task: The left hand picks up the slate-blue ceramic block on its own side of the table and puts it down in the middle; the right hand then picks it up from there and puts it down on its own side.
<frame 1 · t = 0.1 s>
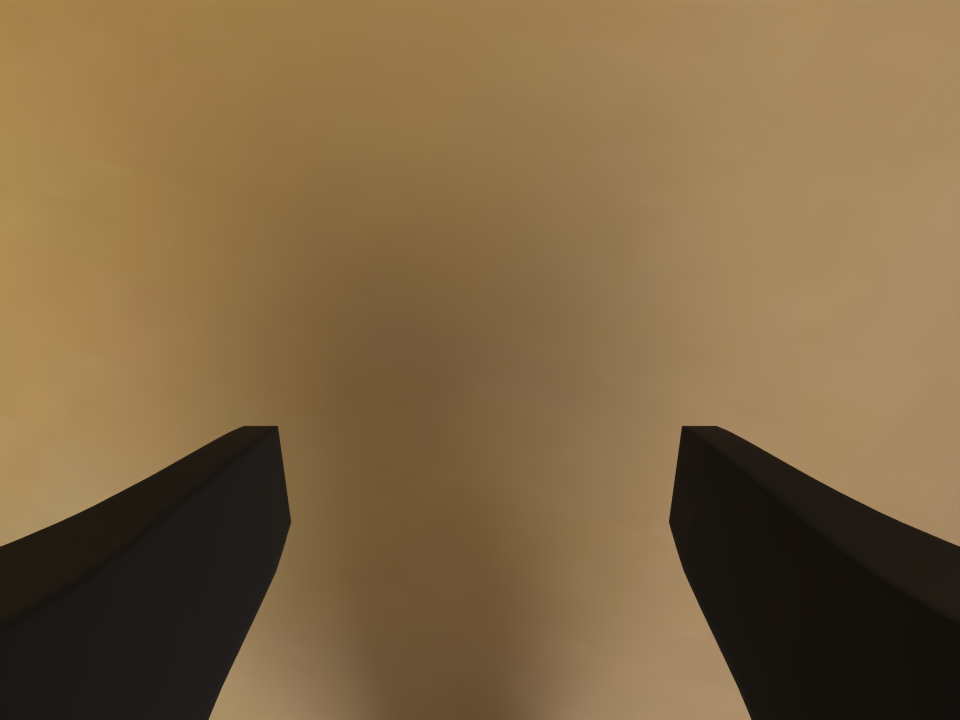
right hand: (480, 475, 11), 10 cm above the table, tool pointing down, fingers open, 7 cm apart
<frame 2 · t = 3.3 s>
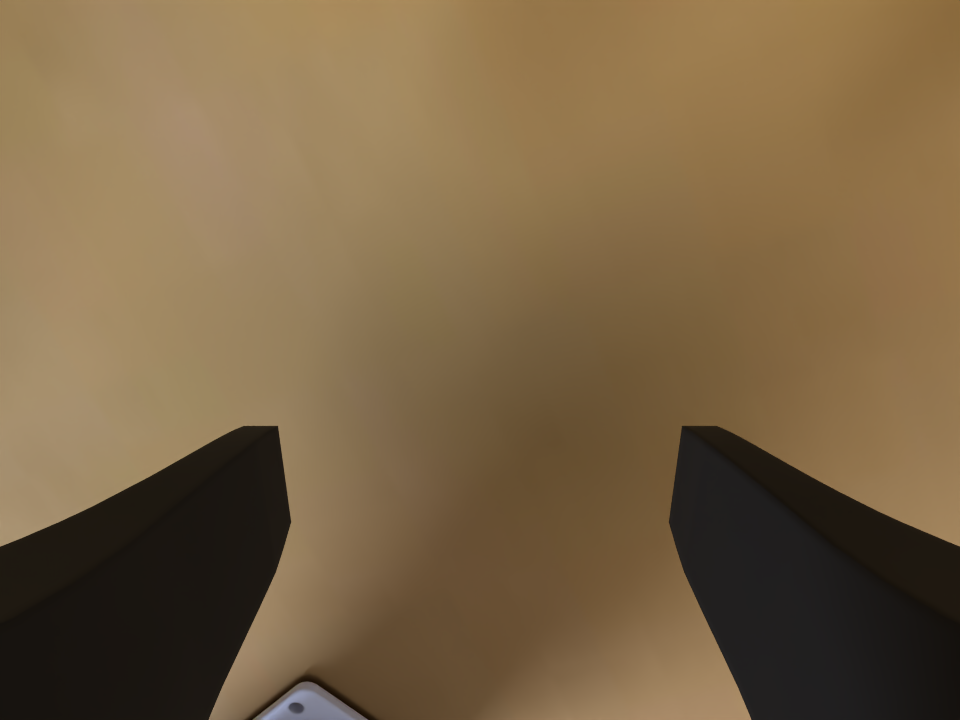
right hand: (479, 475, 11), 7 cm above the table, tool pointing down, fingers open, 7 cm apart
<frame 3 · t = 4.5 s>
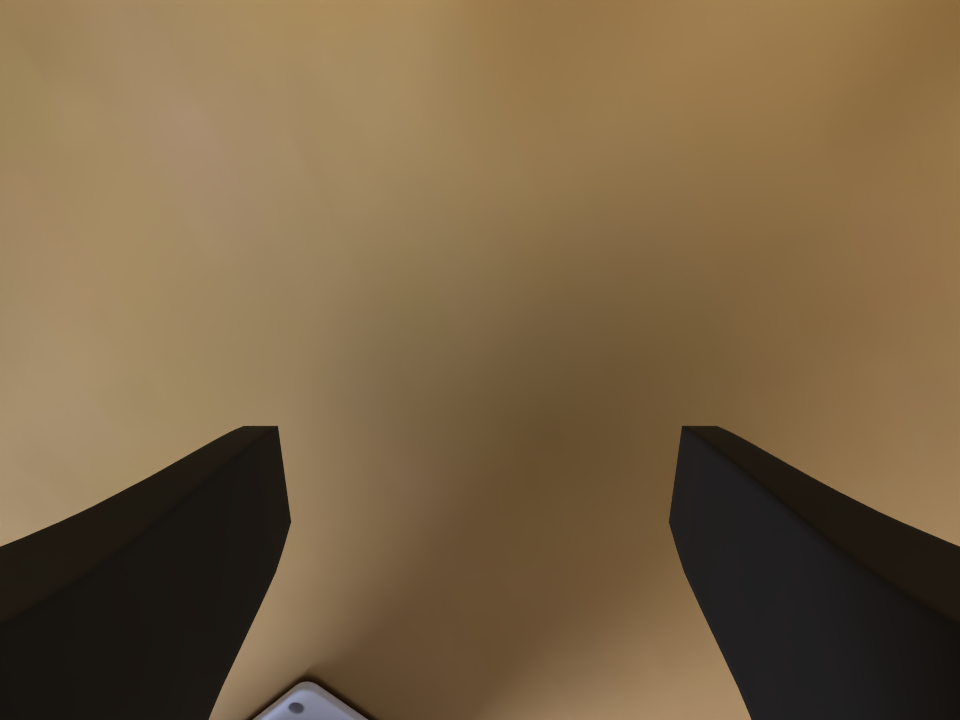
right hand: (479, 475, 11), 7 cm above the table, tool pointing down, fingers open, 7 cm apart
when the left hand's fingers open (1 cm above the table, at t = 6.0 s): block stays where it is, on the table.
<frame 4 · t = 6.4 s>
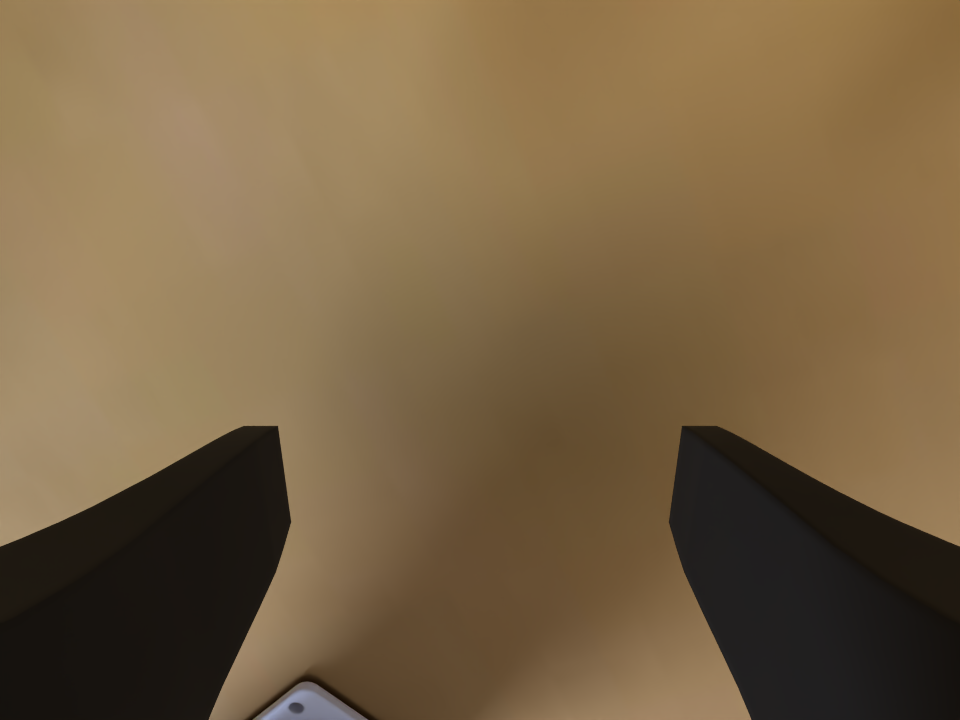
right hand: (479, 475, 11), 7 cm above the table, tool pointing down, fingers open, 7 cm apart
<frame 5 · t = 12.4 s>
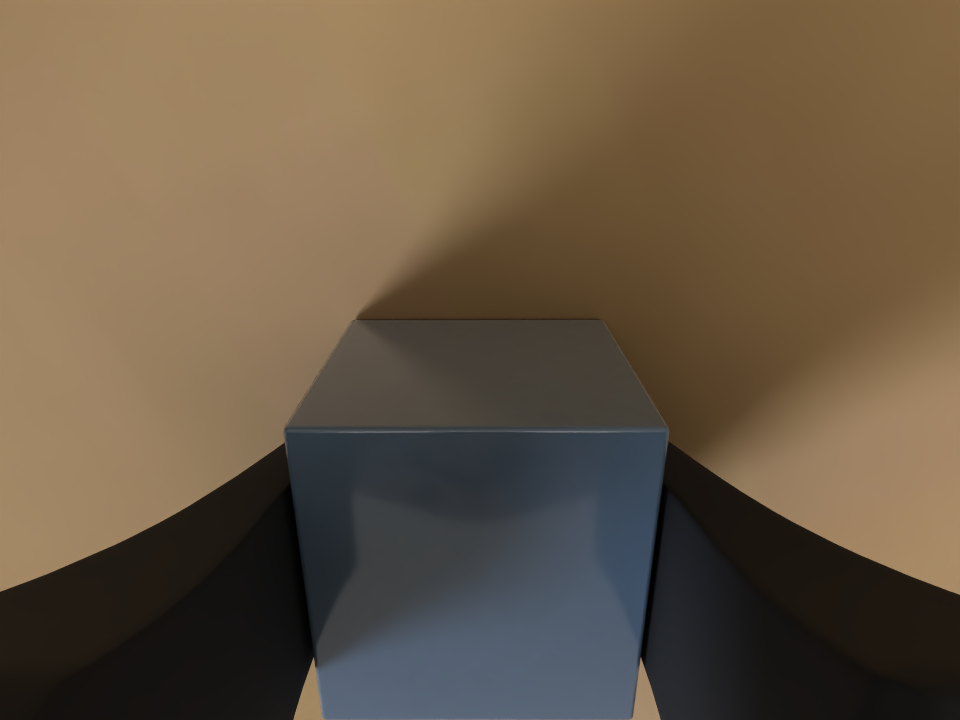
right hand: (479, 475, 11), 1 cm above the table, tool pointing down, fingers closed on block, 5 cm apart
block: (478, 437, 12), on the table, touching right hand
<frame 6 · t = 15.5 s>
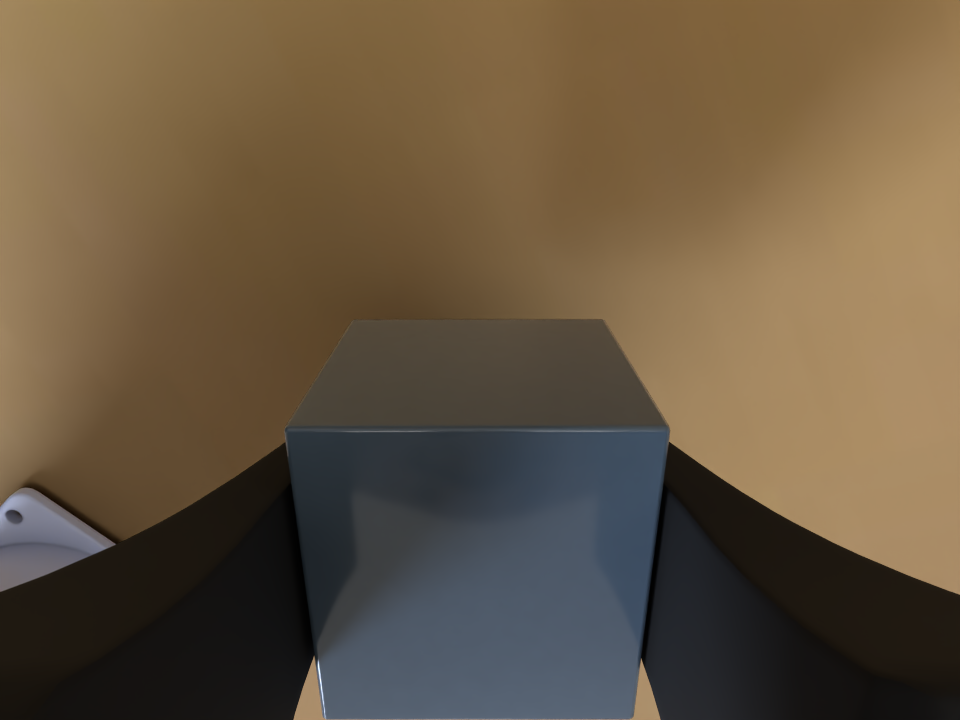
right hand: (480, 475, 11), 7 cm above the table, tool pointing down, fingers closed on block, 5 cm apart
block: (478, 436, 12), point 6 cm above the table, touching right hand
when the right hand's fingers open (2 cm above the table, at t = 18.4 s): block drops 1 cm, on the table.
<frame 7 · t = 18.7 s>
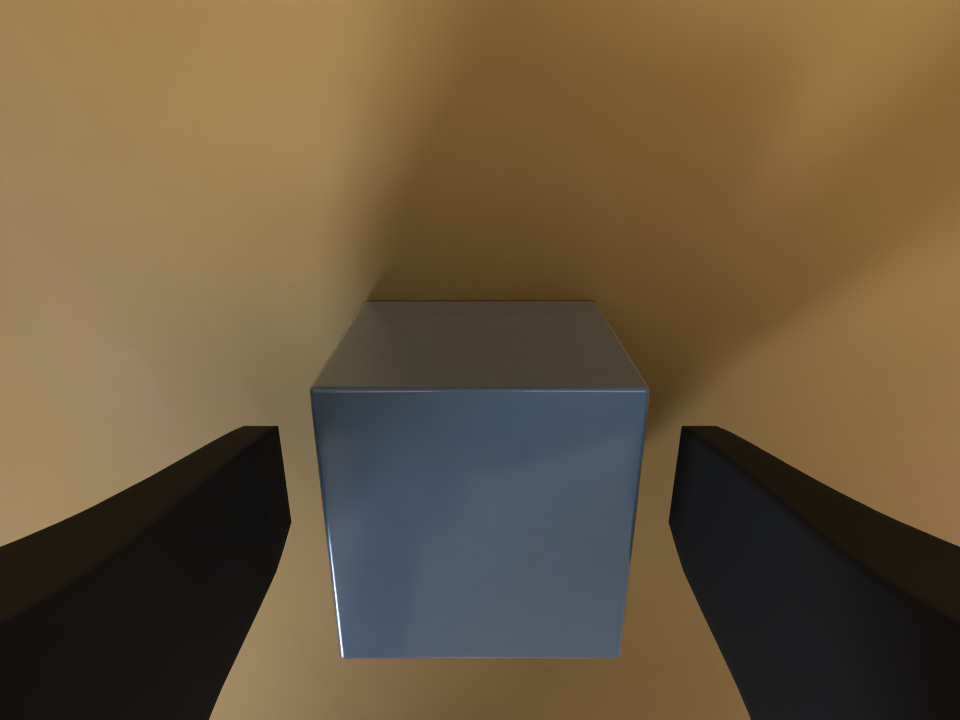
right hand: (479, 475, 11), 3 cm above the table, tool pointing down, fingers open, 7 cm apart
block: (480, 411, 13), on the table
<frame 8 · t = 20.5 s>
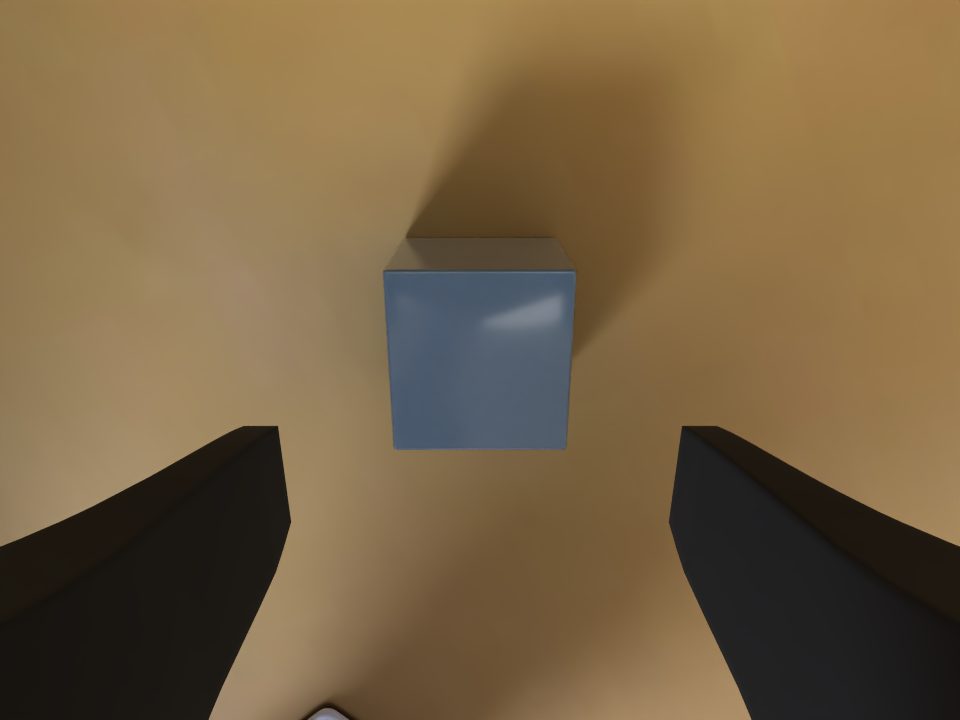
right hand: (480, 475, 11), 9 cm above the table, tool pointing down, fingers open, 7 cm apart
block: (480, 315, 20), on the table
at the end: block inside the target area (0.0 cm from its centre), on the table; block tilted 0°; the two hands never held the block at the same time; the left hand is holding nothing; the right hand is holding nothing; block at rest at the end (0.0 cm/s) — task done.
